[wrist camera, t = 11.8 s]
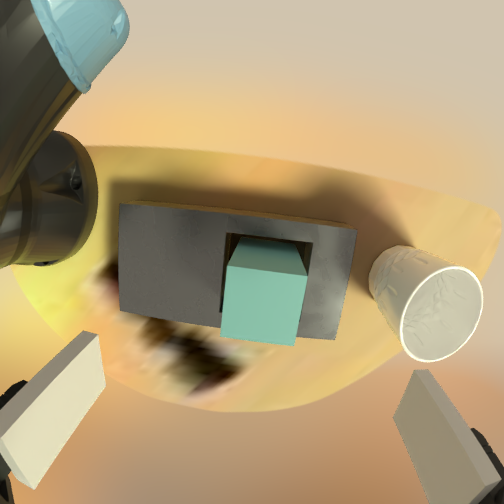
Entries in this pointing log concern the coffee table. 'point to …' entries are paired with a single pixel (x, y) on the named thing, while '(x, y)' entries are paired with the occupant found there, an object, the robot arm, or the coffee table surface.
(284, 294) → the teal block
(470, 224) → the coffee table surface
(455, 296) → the white cup
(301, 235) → the grey slotted board
